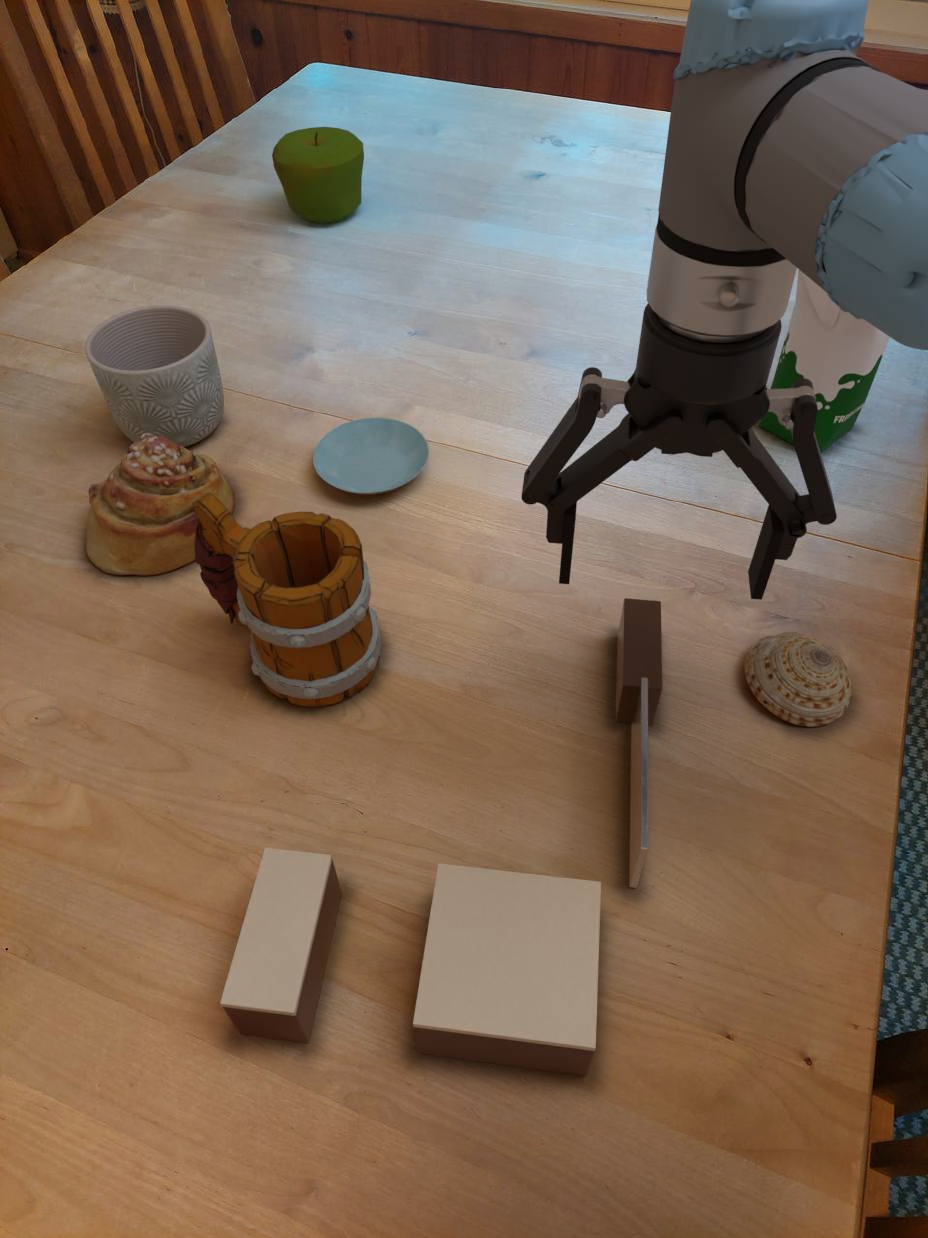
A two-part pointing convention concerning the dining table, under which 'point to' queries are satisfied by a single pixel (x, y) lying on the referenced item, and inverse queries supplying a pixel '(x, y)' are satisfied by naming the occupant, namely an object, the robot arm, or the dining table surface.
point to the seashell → (798, 678)
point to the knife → (639, 708)
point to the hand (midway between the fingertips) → (658, 578)
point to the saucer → (371, 455)
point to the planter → (158, 373)
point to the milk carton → (827, 362)
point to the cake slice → (283, 946)
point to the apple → (320, 172)
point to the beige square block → (510, 970)
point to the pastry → (151, 508)
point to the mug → (293, 599)
